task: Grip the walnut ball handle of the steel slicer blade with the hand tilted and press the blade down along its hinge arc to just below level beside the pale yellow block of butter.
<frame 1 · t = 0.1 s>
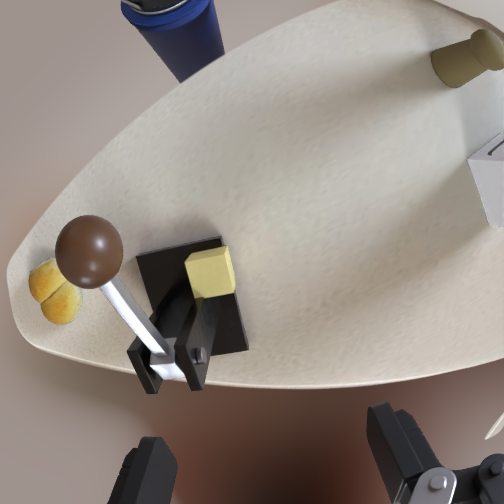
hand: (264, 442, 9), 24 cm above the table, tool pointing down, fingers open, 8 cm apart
cork: (447, 68, 27), on the table
slicer: (194, 302, 34), on the table
grater: (496, 177, 30), on the table
butter: (213, 267, 32), resting on slicer
bread roll: (59, 287, 34), on the table
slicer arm: (133, 314, 18), point 15 cm above the table, hinge at 28.0°
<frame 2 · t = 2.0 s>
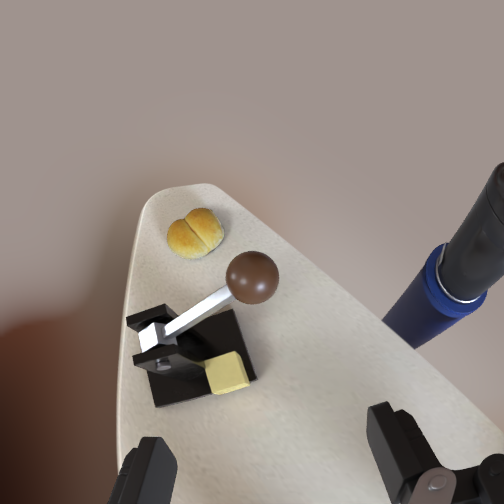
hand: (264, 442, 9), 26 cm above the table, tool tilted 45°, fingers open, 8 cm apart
slicer: (196, 361, 37), on the table
butter: (230, 375, 34), resting on slicer
bread roll: (198, 237, 47), on the table
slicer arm: (200, 311, 24), point 15 cm above the table, hinge at 28.0°
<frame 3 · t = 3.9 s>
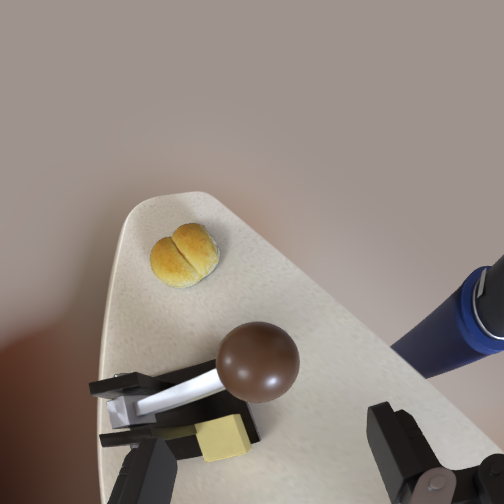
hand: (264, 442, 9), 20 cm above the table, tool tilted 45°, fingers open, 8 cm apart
slicer: (186, 414, 28), on the table
butter: (227, 436, 25), resting on slicer
bread roll: (188, 260, 38), on the table
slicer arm: (182, 394, 15), point 15 cm above the table, hinge at 28.0°
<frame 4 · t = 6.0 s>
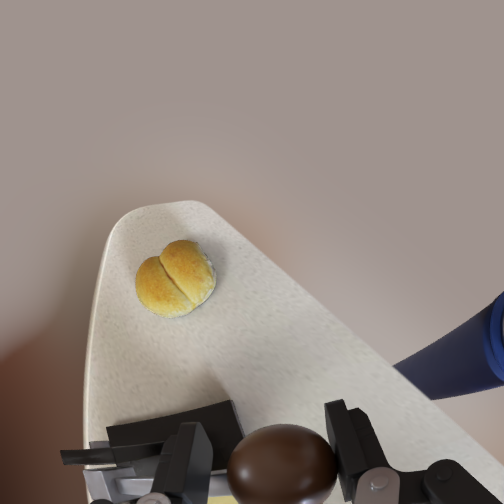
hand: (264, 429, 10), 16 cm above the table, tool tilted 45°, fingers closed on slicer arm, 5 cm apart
slicer: (181, 462, 22), on the table
butter: (228, 489, 19), resting on slicer
bread roll: (179, 283, 32), on the table
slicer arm: (176, 486, 10), point 14 cm above the table, hinge at 23.2°, touching gripper
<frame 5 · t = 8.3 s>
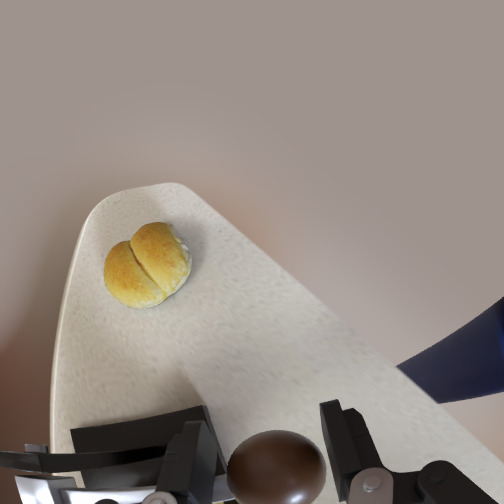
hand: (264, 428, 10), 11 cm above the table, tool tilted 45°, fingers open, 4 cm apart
slicer: (149, 473, 18), on the table
bread roll: (153, 270, 28), on the table
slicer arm: (149, 498, 8), point 11 cm above the table, hinge at -5.3°, touching gripper
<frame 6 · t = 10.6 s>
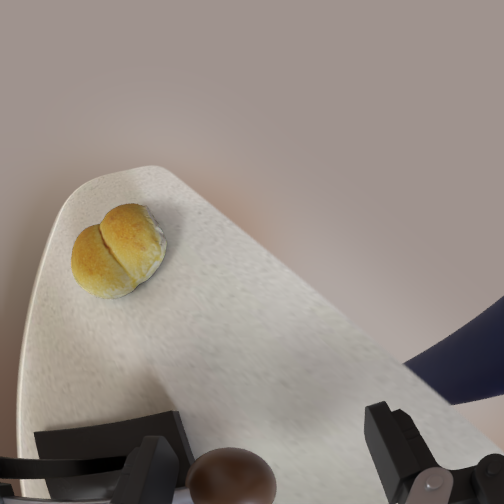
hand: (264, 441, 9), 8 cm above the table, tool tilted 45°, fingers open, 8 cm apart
slicer: (116, 486, 14), on the table
bread roll: (125, 257, 25), on the table
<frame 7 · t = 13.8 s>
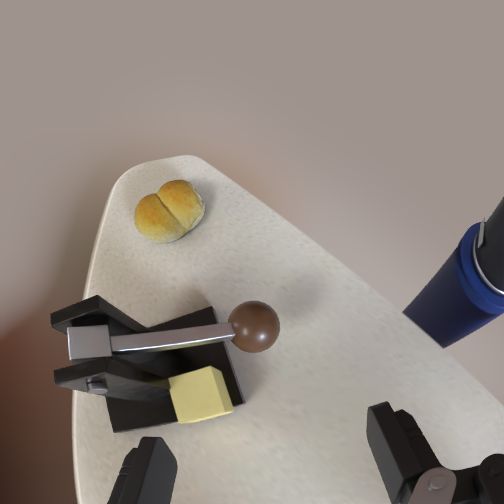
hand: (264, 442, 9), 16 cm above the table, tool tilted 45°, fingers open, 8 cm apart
slicer: (164, 375, 27), on the table
butter: (207, 397, 24), resting on slicer
bread roll: (173, 217, 37), on the table
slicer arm: (180, 338, 19), point 9 cm above the table, hinge at -30.4°
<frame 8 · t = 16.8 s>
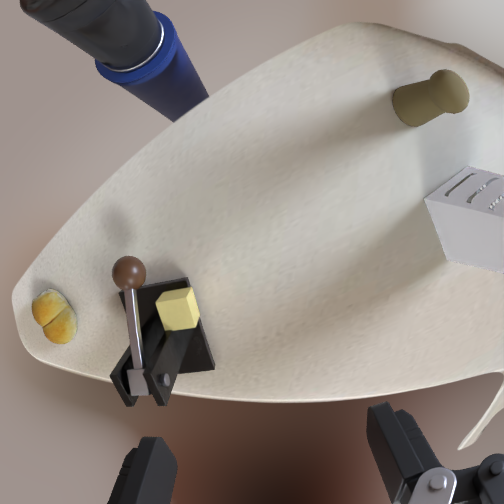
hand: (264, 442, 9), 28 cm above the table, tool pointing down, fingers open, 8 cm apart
cork: (410, 106, 32), on the table
slicer: (168, 329, 39), on the table
grater: (458, 212, 35), on the table
butter: (181, 303, 37), resting on slicer
bread roll: (58, 313, 39), on the table
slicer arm: (133, 324, 29), point 9 cm above the table, hinge at -30.4°
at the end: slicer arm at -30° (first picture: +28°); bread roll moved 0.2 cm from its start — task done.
